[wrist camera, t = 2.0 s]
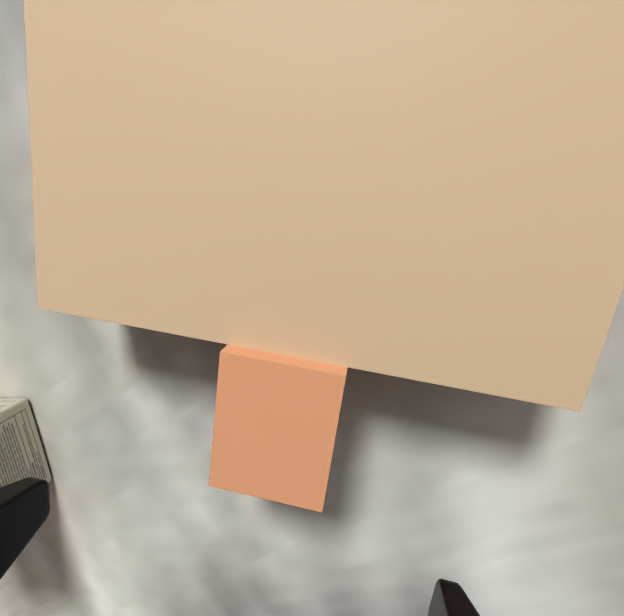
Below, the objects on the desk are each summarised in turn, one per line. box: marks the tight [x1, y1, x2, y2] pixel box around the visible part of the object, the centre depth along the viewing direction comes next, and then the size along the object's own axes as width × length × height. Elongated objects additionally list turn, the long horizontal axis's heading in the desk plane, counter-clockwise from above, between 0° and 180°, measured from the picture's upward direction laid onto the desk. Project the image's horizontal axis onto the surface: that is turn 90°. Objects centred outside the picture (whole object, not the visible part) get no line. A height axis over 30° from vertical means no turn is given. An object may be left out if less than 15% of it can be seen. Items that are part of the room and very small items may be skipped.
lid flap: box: [24, 0, 624, 512], centre depth 12 cm, size 16×18×2 cm
